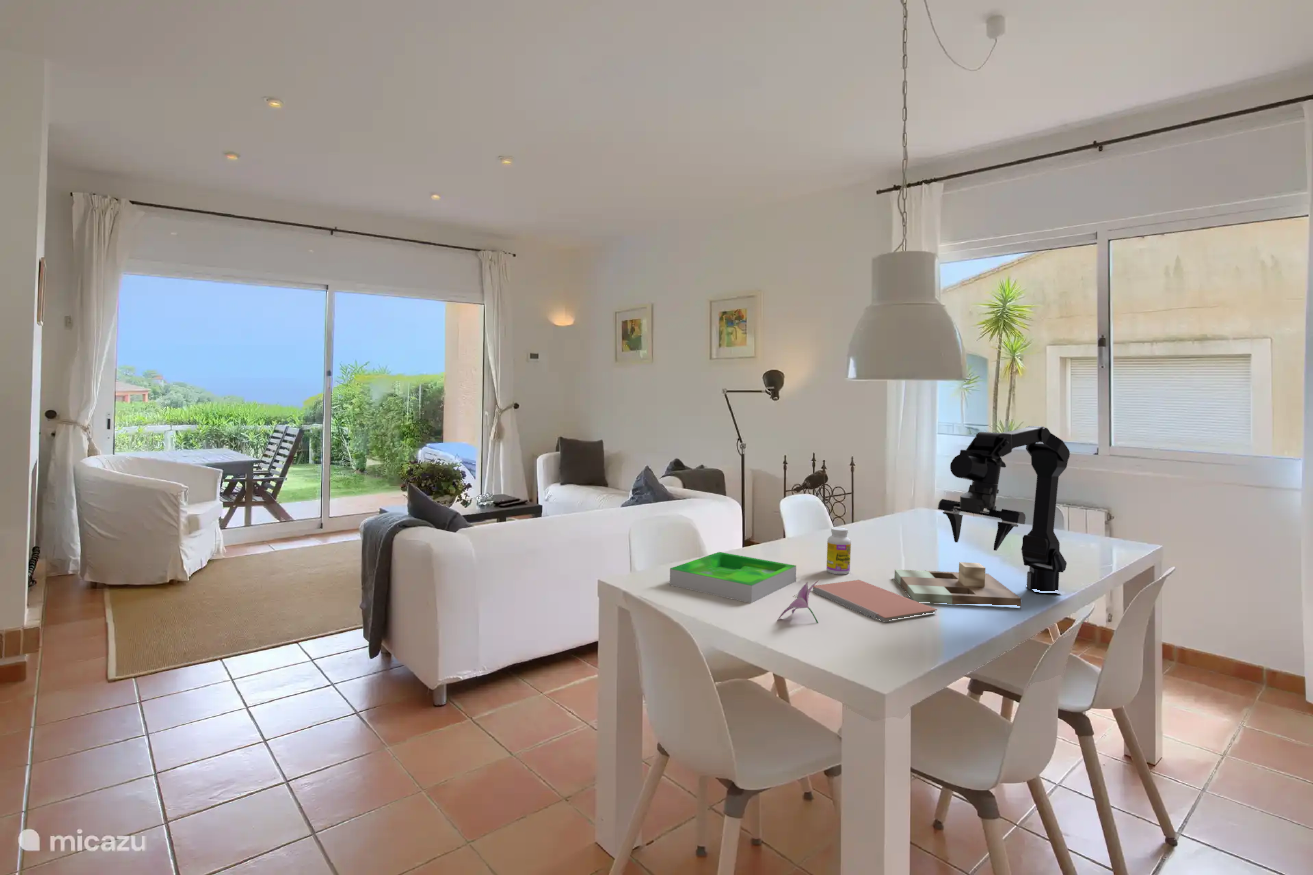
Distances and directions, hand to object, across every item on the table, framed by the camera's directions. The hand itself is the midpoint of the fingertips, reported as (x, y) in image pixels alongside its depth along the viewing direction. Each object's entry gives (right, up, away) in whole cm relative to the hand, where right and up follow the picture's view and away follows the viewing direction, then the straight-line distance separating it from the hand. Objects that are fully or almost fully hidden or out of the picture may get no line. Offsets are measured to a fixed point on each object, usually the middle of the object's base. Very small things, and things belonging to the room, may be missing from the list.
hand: (975, 546), depth 163 cm
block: (+5, -12, +13) cm, 18 cm away
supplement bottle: (-25, -13, +33) cm, 43 cm away
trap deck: (+1, -14, +13) cm, 20 cm away
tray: (-57, -14, +20) cm, 62 cm away
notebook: (-24, -15, +4) cm, 29 cm away
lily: (-45, -16, -9) cm, 48 cm away
